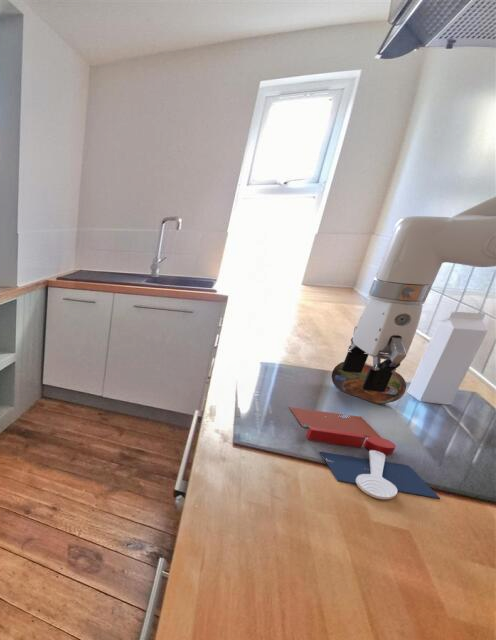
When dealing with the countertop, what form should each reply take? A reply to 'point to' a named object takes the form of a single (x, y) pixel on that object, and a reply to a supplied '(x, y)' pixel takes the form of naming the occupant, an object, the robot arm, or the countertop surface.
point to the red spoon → (350, 439)
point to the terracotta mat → (334, 421)
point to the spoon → (376, 478)
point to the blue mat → (406, 482)
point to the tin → (353, 386)
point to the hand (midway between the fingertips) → (361, 380)
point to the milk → (448, 357)
